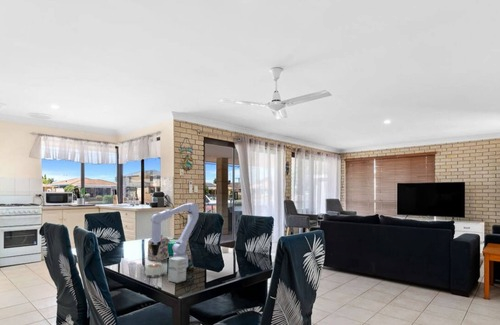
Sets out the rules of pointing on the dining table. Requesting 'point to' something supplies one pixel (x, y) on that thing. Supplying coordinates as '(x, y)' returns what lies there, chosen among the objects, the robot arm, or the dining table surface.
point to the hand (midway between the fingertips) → (155, 254)
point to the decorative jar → (159, 250)
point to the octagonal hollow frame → (154, 270)
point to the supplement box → (177, 269)
